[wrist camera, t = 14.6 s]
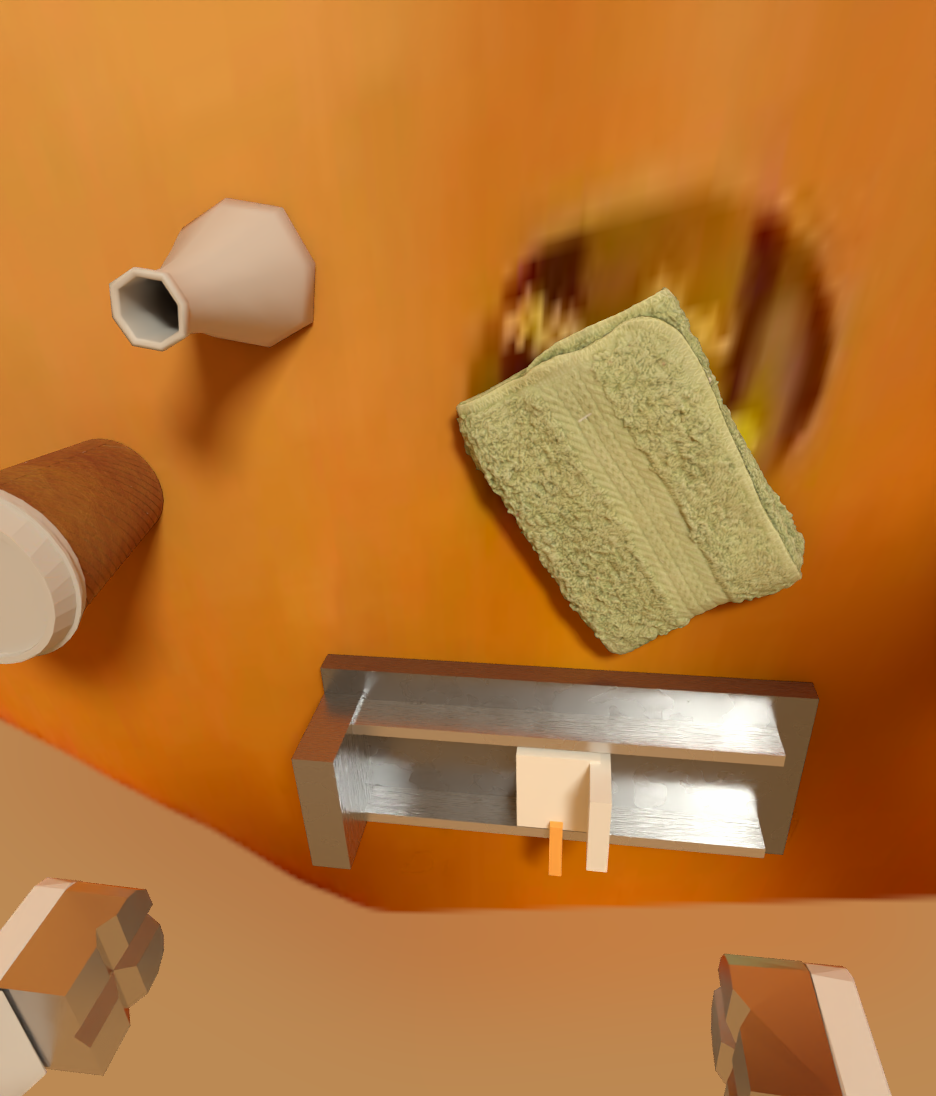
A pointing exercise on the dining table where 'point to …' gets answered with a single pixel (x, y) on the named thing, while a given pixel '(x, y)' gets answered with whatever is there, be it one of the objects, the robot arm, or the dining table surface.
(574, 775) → the cream corner bracket
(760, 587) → the washcloth
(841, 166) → the dining table surface
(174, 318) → the flask
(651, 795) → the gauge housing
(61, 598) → the disposable coffee cup
